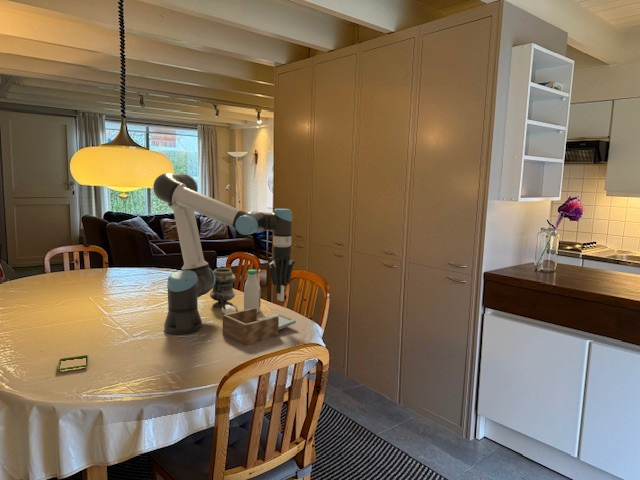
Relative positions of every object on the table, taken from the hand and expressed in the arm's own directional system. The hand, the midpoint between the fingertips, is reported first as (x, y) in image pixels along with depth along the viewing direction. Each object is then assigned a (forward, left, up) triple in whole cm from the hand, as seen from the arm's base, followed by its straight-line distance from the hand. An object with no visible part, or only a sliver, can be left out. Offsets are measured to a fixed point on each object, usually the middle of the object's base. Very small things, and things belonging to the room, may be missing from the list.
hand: (280, 300), depth 187 cm
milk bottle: (-6, +24, -12) cm, 28 cm away
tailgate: (-7, -3, -9) cm, 12 cm away
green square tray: (-77, -14, -12) cm, 79 cm away
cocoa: (-19, +16, -12) cm, 27 cm away
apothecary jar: (-17, +38, -12) cm, 43 cm away
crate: (-15, -6, -12) cm, 20 cm away
